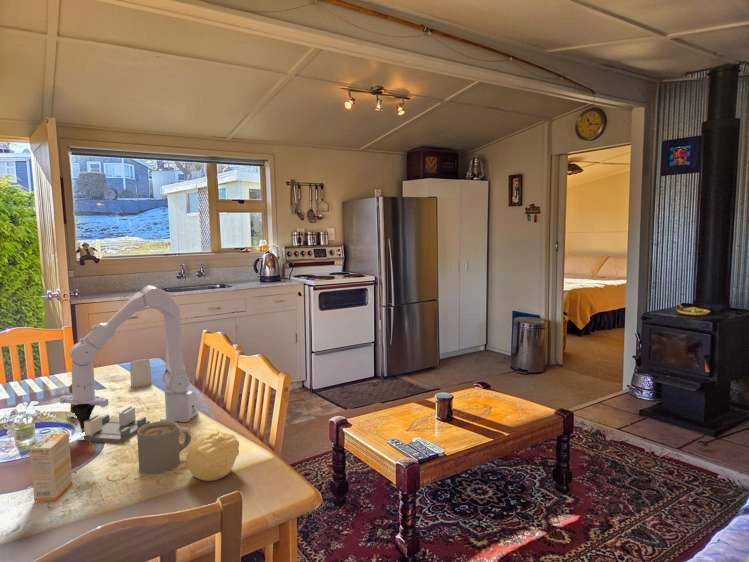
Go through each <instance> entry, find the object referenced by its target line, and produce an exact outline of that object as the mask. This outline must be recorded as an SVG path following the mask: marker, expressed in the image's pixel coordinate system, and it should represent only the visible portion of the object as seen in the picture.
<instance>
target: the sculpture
mask: <svg viewBox="0 0 749 562" xmlns="http://www.w3.org/2000/svg"><path fill="white" fill-rule="evenodd" d="M239 447H240V442H239V440H238V439H237V437H236V436H235V435H234V434H232V433H226V432H223V431H222V432H221V431H220V430H217V431H216V432H211V433H206V434H203V435H201V436H199V437H198V438H196V439H195V440H194V441H193V442H192V443H191V445H190V446H189V449H188V451H187V455H186V465H187V467H188V471H189V472H190V474H191V475H192V476H193V477H195V478H196V479H199V480H201V481H205V482H211V481H217V480H221V479H222V478H224V477H225V476H227V475H228V474H230V472H231V471H232V468H233V466H234V464H235V462H236V460H237V457H238V456H239V453H240V448H239Z"/></svg>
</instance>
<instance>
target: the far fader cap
mask: <svg viewBox="0 0 749 562" xmlns="http://www.w3.org/2000/svg"><path fill="white" fill-rule="evenodd" d="M118 419H119V425H120V426H126V425H128V424H129V423H131V422H133V421H134V420H137V419H136V407H134V406H129V407H127V408H125V409H124V410H121V411H120V412H118Z"/></svg>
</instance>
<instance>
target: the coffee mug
mask: <svg viewBox="0 0 749 562" xmlns="http://www.w3.org/2000/svg"><path fill="white" fill-rule="evenodd" d="M136 434H137V453H138V455H137V456H138V469H139V471H140V472H141V471H142V473H143V472H144V473H143V474H150V475H151V474H152V475H154V474H160V473H161V472H162V473H165V472H164V471H166V472H168V470H169V471H170V469H171V470H173V469H175V468H176V467H178V466H179V465H180V463H181V457H180V456H181V455H180V454H181V452H182V451H184V449H186V448H187V447H189V445H190V444H191V439H192V434H191V430H190V429H189V428H188V427H186V426H182V427H179V424H178V423H177V421H161V420H159V421H158V420H157V421H152V422H150V423H149V424H146V425H143V426H142V427H140V428H139V429H138V431H137V433H136ZM181 434H184V435H185V436H184V437H185V438H184V441H183V442H181V443H180V436H181ZM178 464H179V465H178ZM177 465H178V466H177ZM174 467H175V468H174ZM172 468H173V469H172Z"/></svg>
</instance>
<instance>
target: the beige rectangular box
mask: <svg viewBox="0 0 749 562" xmlns="http://www.w3.org/2000/svg"><path fill="white" fill-rule="evenodd" d="M129 368H130V369H129V372H130V373H129V374H130V377H129V378H130V386H131V387H132V388H133V389H134V388H139V386H140V387H145V386H150V385H149V384H151V385H152V384H153V383H152V381H153V380H152V369H151V362H150V358H144V359H136V360H131V361H130V366H129ZM144 385H145V386H144Z"/></svg>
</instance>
